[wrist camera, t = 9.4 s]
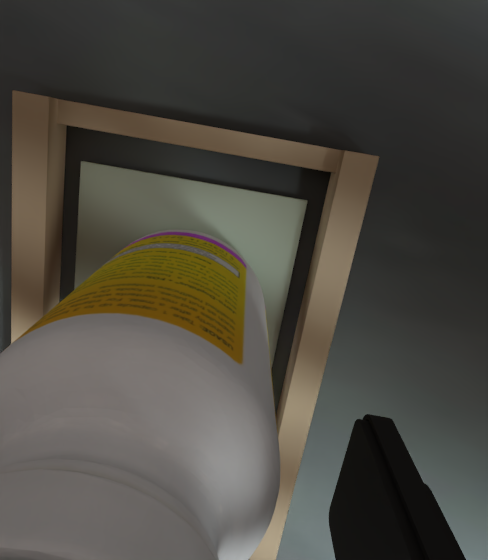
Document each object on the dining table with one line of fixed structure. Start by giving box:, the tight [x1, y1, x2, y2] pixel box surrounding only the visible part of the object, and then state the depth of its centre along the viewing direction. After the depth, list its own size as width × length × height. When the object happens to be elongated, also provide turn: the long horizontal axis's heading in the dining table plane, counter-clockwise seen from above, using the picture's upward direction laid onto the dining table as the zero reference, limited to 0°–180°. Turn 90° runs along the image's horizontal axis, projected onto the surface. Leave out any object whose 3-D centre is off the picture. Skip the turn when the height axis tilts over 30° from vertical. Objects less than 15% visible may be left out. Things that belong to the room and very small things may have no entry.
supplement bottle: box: [0, 230, 280, 560], centre depth 11 cm, size 7×7×13 cm
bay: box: [11, 90, 379, 560], centre depth 16 cm, size 27×14×7 cm, turn 170°
